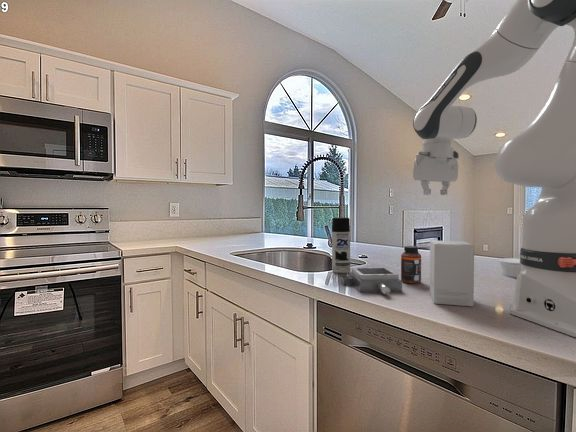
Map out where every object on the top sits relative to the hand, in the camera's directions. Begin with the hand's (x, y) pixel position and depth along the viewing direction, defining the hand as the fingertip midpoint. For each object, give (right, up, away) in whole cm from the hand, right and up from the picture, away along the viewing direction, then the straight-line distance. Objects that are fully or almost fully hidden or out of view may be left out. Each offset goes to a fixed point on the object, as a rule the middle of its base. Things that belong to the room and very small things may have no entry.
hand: (435, 194), depth 108 cm
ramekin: (+29, -28, +1) cm, 40 cm away
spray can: (-30, -28, +10) cm, 42 cm away
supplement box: (-8, -29, -26) cm, 40 cm away
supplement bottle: (-11, -28, -6) cm, 31 cm away
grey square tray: (-25, -28, -13) cm, 40 cm away
